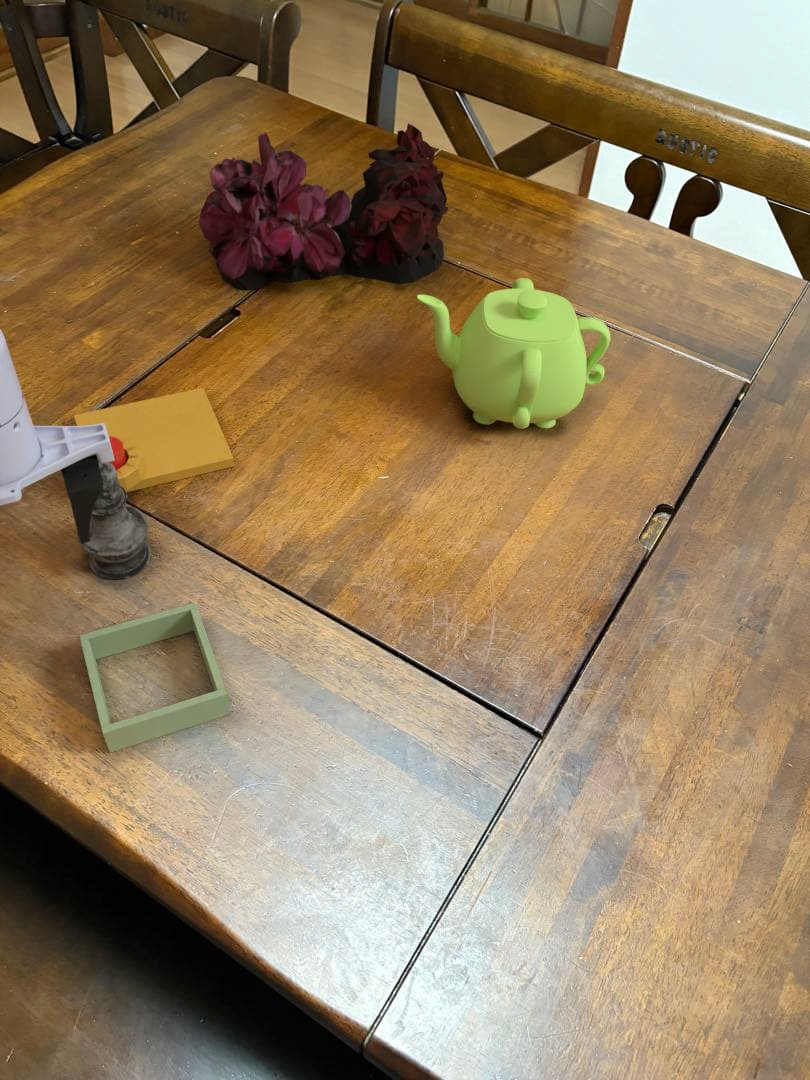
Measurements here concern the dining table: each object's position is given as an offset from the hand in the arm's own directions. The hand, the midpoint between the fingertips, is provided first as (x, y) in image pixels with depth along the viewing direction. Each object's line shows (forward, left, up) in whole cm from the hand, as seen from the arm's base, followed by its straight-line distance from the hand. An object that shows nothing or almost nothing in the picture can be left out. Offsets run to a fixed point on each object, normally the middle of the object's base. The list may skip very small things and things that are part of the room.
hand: (30, 546), depth 67 cm
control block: (+12, +19, -10) cm, 25 cm away
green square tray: (+6, -8, -10) cm, 14 cm away
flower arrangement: (+40, +45, -11) cm, 61 cm away
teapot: (+48, +14, -11) cm, 51 cm away
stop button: (+7, +15, -8) cm, 19 cm away
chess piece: (+6, +6, -11) cm, 14 cm away
